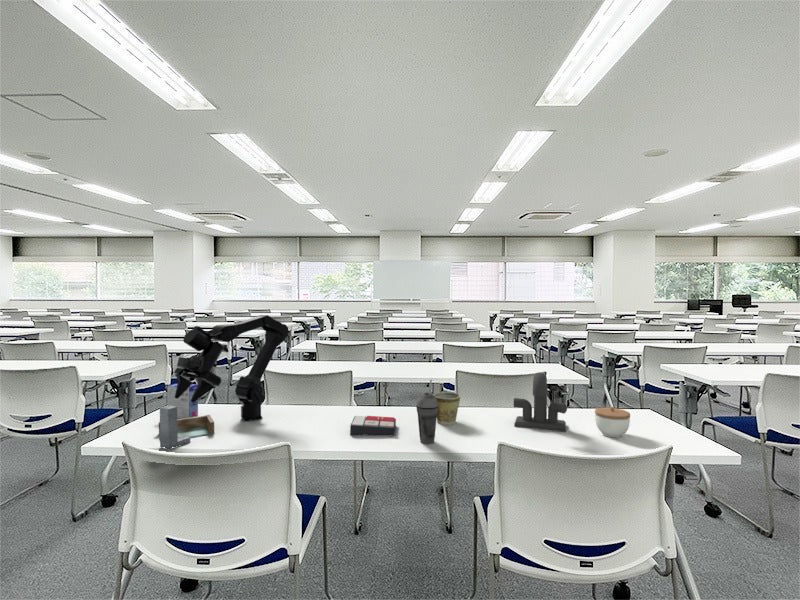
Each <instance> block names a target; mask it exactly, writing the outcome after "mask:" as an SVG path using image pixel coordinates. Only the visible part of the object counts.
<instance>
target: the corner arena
mask: <svg viewBox="0 0 800 600" xmlns="http://www.w3.org/2000/svg"><path fill="white" fill-rule="evenodd" d="M177 430H178V437H179V436H186V437H190V439H192V438H197V437H203V435H204V436H209V434H210V435H215V421H214V420H213V417H212V416H211V415H210V414H207V415H206V414H205V415H198V416H195V417H191V418H177ZM158 435H159V436H160V421H158Z"/></svg>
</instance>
